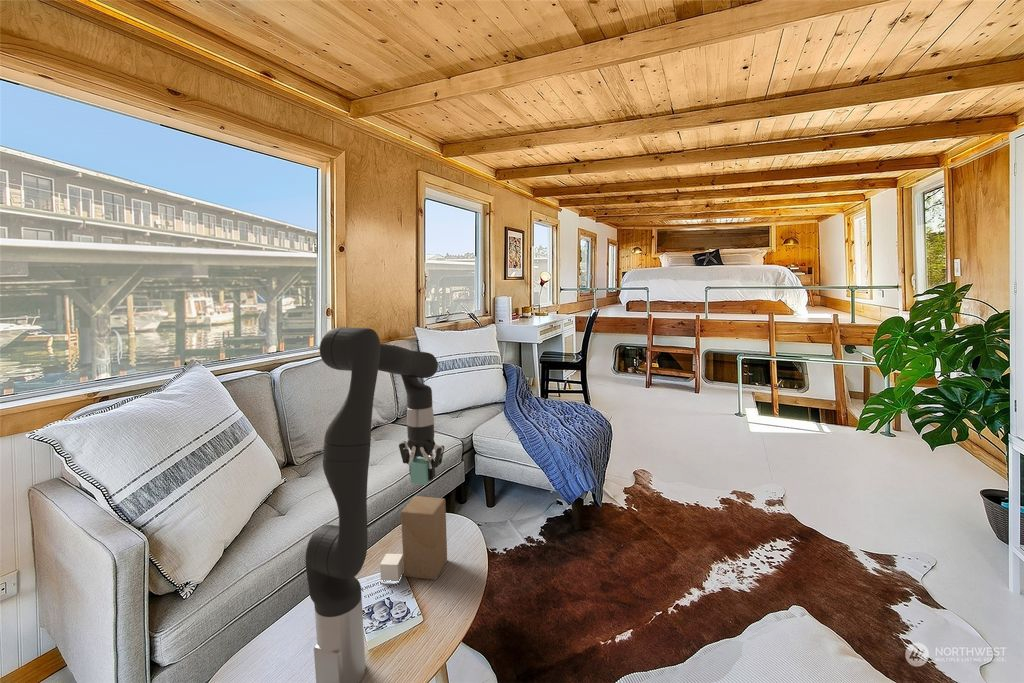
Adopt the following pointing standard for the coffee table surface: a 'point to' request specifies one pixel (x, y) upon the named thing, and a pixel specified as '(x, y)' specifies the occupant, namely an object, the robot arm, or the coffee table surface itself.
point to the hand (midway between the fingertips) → (422, 478)
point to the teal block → (419, 471)
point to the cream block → (392, 567)
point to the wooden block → (424, 537)
